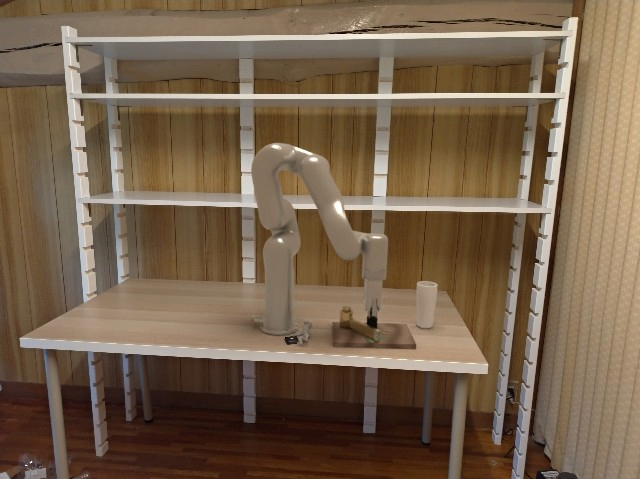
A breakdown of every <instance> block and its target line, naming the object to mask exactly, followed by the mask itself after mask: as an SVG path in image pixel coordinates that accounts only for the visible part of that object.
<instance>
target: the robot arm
mask: <svg viewBox="0 0 640 479" xmlns="http://www.w3.org/2000/svg"><path fill="white" fill-rule="evenodd" d="M251 163H252V164H251V169H250V170H251V181H252V184H253V185H252V186H253V189H254V190H253V191H254V196H255V201H256V206H257V210H258V216H259V221H260V224H261V225H262V227H263V228H264V229H266V230H268V231H270V232H271V236H269V238H267V239H266V241H265V242H264V246H263V248H262V258H263V265H264V313H263V314H261V315H259V314H252V315H251V321H252V322H254V323H255V324H260V325H259V328H260V331H262V333H265V334H269V335H275V336H283V335H291V334H294V333H296V332H297V331H298V330H299V323H298V322H297V321H295V267H294V257H295V255H297V254H298V252H299V250H300V248H301V243H302V242H301V236H300V230H299V226H298V221H297V216H296V211H295V208H294V206H293V204H292V203H291V202H290V201H289V200H288V199H285V198H284V195H283V189H282V185H281V182H280V177H279V173H280V172H281V171H286V172H289V173H290V174H294V175H297V176H299V177H300V178H301V179H302V182H303V184H304V186H305V188H306V189H307V192H308V193H309V195H310V198H311V199H312V201H313V203H314V205H315V208H316V209H317V211H318V215H319V218H320V221H321V223H322V226H323V227H324V228H323V229H324V230H325V233H326V236H327V237H328V239H329V242H330V243H331V245H332V247H333V249H334V251H335V252H336V254H337V255H338V256H339V257H340V258H341V259H343V260H346V261H352V260H355V259H356V258H357V257H359V255H361V254H362V265H361V266H362V269H361V270H362V271H361V272H362V273H361V278H362V279H363V280H364V286H363V296H362V297H363V298H362V300H363V301H362V304H363V308H364V311H365V312H367V315H366V323H367V325H369V326H371V327H373V328H376V329H377V323H378V313H379V312H380V311H381V310H382V298H383V281H384V280H385V281H386V279H387V268H388V267H387V266H388V252H389V250H388V248H389V238H388V236H387V235H386V234H383V233H377V232H376V233H375V232H371V233H368V232H367V233H366V232H361V231H357V230H353V229H352V227H351V224H350V222H349V220H348V217H347V215H346V211H345V202H344V197H343V196H342V194H341V192H340V190H339V188H338V186H337V184H336V183H335V181H334V179H333V177H332V174H331V173H330V172H331V167H330V166H331V165H330V163H329V161H328V160H327V158H325V157H324V156H322V155H320V154H317V153H313V152H310V151H308V150H305V149H303V148H300V147H297V146H294V145H292V144H289V143H283V142H282V143H281V142H273V143H269V144H267V145H265V146H263V147H262V148H261V149H260V150H259V151H257V153H256V154H255V156H254V158H253V160H252V162H251Z"/></svg>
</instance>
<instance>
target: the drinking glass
mask: <svg viewBox="0 0 640 479" xmlns="http://www.w3.org/2000/svg"><path fill="white" fill-rule="evenodd" d="M415 294H416V295H415V296H416V299H415V300H416V326H417V327H419V328H421V329H426V330H427V329H432V328H433V326H434V324H433V323H434V315H435V311H436V310H435V309H436V304H437V303H436V302H437V296H438V284H437V283H436V282H433V281H427V280H425V281H424V280H422V281H418V282H417V283H416V293H415Z"/></svg>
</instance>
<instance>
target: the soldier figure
mask: <svg viewBox="0 0 640 479" xmlns="http://www.w3.org/2000/svg"><path fill="white" fill-rule="evenodd" d="M303 323H304V326H303V327H302V328H301V331H300V332H298V333H292V334H291V336H292V337H298V341H296V344H297V345H298V346H304V344H303V341H305V342H307V343H308V342H309V338H310V337H311V332H310V331H311V328H313V326H314V325H313V322H311V321H309V320H303Z"/></svg>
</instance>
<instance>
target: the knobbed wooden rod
mask: <svg viewBox="0 0 640 479" xmlns="http://www.w3.org/2000/svg"><path fill="white" fill-rule="evenodd" d="M339 322H340V325H339V326H340V327H342V328H351V329H353V330H356V331H358V332H360V333H362V334H364V335H366V336H368V337H370V338H372V339H374V340H376V341H380V337H381V330H378V329H376V328H373V327H371V326H369V325H367V324H365V323H366V322H362V321H360V320H359V319H356V318H354V310H352V307H351V306H347V305H345V306H342V309H340V310H339Z"/></svg>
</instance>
